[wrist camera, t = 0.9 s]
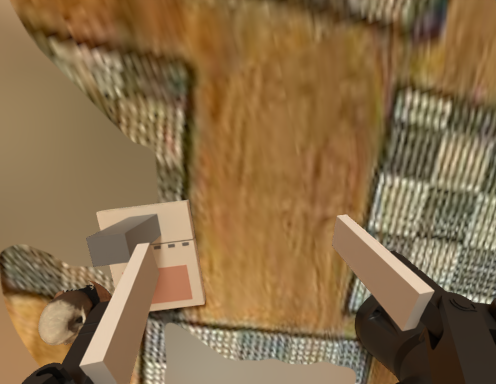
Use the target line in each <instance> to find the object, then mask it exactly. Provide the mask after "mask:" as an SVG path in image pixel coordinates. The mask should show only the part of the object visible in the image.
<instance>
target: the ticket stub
mask: <svg viewBox="0 0 496 384" xmlns="http://www.w3.org/2000/svg"><path fill="white" fill-rule="evenodd" d="M96 214H97V218H98V222H99V226H100V230H101V231H100V232H98V233H95V234H93V235H91V236H89V237H87V238H86V240H87V243H88V248H89V251H90V255H91V258H92V263H93V267H96V266H103V265H112V264H120V263H128V262H129V260H130V258H131V256H132V254H133V252H134V250H135V248H136V246H137V244H143V243H150V245H151V244H157V243H165V242H173V241H181V240H189V239H193V238H194V237H195V233H194V227H193V222H192V216H191V210H190V204H189V200H183V201H175V202H167V203H159V204H151V205H143V206H135V207H127V208H119V209H111V210H103V211H99V212H97V213H96Z"/></svg>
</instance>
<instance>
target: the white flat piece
mask: <svg viewBox="0 0 496 384" xmlns="http://www.w3.org/2000/svg"><path fill="white" fill-rule="evenodd" d="M151 248H152V252H153V255H154V258H155V261H156V264H157V267H158V270H159V273H160V274H159V277H158V281H157V285H156V288H155V292H154V296H153V299H152V303H151V307H150V310H149V311H155V310H163V309H171V308H179V307H187V306H195V305H203V304H205V300H206V297H205V291H204V285H203V279H202V274H201V268H200V262H199V256H198V250H197V244H196V238H195V237H194V238H193V239H189V240H181V241H173V242H165V243H157V244H151ZM127 265H128V263H120V264H112V265H110V269H111V273H112V278H113V282H114V286H115V290H116V288H117V286H118V283H119V281H120V279H121V277H122V275H123V273H124V271H125V269H126V267H127Z"/></svg>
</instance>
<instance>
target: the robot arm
mask: <svg viewBox="0 0 496 384" xmlns="http://www.w3.org/2000/svg"><path fill="white" fill-rule="evenodd" d="M332 246H333V247H334V249H335V250H336V251H337V252H338V253H339V255H340V256H341V257H342V258H343V260H344V261H345V262H346V263H347V264H348V266H349V267H350V268H351V269H352V270H353V272H354V273H355V274H356V275H357V277H358V278H359V279H360V280H361V281H362V283H363V284H364V285H365V286H366V287H367V289H368V290H369V291H370V292H371V294H372V296H370V297H369V298H368V299H367V300H366V301H365V302H364V303H363V304H362V306H361V307H360V309H359V311H358V313H357V316H356V321H355V328H356V333H357V335H358V337H359V339H360V341H361V342H362V344H363V345H364V347H365V348H366V350H367V351H368V352H369V353H370V354H371V355H372V356H374V357H375V358H376V359H377V360H378V361H379V362H381V363H382V364H383V365H384V366H385V367H386V368H387V369H388V370H390V371H391V372H392V373H393V374H394V375H395V376H396V377H397V378H398V380H399V381H400V382H398V383H396V384H496V298H495V299H494V300H493V302H492V303H491V304H483V303H474V302H472V301H471V300H469V299H467V298H466V297H464V296H462V295H459V294H457V293H452V292H446V291H445V290H444V289H443V288H441V287H440V286H439V285H438V284H437V283H435V282H434V281H433V280H432V279H430V278H429V277H428V276H427V275H426V274H424V273H423V272H422V271H421V270H418V268H417V267H416V266H415V265H413V264H412V263H411V262H410V261H409V260H407V259H406V258H405V257H404V256H402V255H400V254H398V253H397V252H395V251H388V250H387V249H386V248H384V247H383V246H382V245H381V244H380V243H379V242H378V241H376V240H375V239H374V238H373V237H372V236H371V235H369V234H368V233H367V232H366V231H365V230H364V229H363V228H361V227H360V226H359V225H358V224H357V223H356V222H354V221H353V220H352V219H351V218H350V217H349V216H347V215H340V216H337V218H336V224H335V230H334V236H333V242H332ZM159 274H160V273H159V270H158V267H157V264H156V261H155V258H154V255H153V252H152V248H151V245H150V243H143V244H137V246H136V248H135V250H134V252H133V254H132V256H131V258H130V260H129V262H128V265H127V267H126V269H125V271H124V273H123V275H122V277H121V279H120V281H119V283H118V286H117V288H116V290H115V292H114V294H113V296H112V298H111V300H110V301H106V302H100V303H98V304H97V305H96V306H95V308H94V309H93V310H92V311H91V312H90V313H89V315H88V317H87V318H86V320H85V322H84V324H83V327H82V328H81V329H80V331H79V333H78V336H77V337H76V339H75V340H74V342H73V344H72V346H71V348H70V350H69V351H68V353H67V355H66V357H65V359H64V361H63V362H62V364H60V363H51V364H47V365H44V366H43V367H41V368H39V369H38V370H36V371H35V372H33V373H32V374H31V375H30V376H29V377H27V378H26V379H25V380H24V382H23V383H22V384H130V380H131V376H132V373H133V369H134V365H135V362H136V358H137V354H138V351H139V347H140V343H141V340H142V336H143V332H144V329H145V325H146V321H147V318H148V314H149V310H150V307H151V303H152V299H153V296H154V292H155V288H156V285H157V281H158V277H159Z"/></svg>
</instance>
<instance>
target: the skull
mask: <svg viewBox="0 0 496 384" xmlns="http://www.w3.org/2000/svg"><path fill="white" fill-rule="evenodd" d="M88 281H90V280H88ZM90 282H91V283H93V284H94V286H95V287H94V286H93V287H94V289H93V290H91V289H92V288H90V287H89V286H92V285H86V288H83V289H79V290H73V289H72V290H71V291H68V290H67V291H66V292H65V293H64V290H63V291H62V292H61V291H59V292H58V293H57V294H56V296H55V298H54V299H53V300H52V301H51V302H50V303H49V304H48V305H47V306H46V307H45V309H44V310H43V312H42V315H41V317H40V321H39V334H40V337H41V338H42V340H43V341H44V342H46V343H47V344H49V345H59V344H62V343H64V344H65V345H67V344H68V343H73V342H74V340H75V339H76V337H77V336H78V333H79V331H80V329H81V328H82V327H83V324H84V322H85V320H86V318H87V317H88V315H89V313H90V312H91V311H92V310H93V309H94V308H95V306H96V305H97V304H98V303H100V302H106V301H110V300H111V298H112V297H111V295H110V293H108V291H106V290H105V288H103V287H102V286H101V285H99V284H98V283H96V282H93V281H90Z"/></svg>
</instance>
